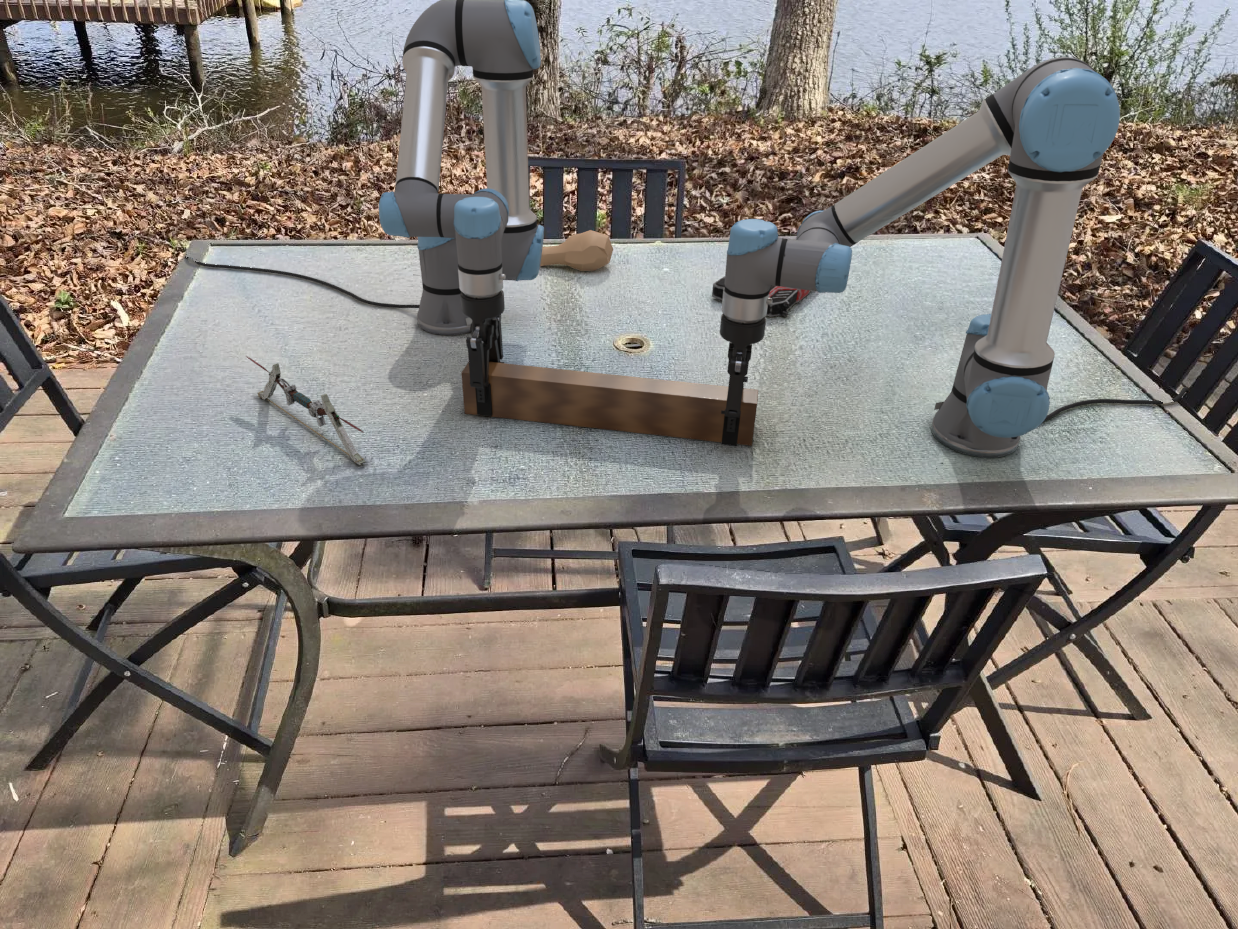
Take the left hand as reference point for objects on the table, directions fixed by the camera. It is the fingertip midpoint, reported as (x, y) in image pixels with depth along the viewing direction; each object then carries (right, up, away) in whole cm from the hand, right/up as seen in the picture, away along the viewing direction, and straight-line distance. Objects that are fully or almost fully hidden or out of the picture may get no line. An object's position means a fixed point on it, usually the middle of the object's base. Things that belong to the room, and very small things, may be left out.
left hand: (489, 406), depth 165 cm
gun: (+62, +32, +51) cm, 86 cm away
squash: (+13, +40, +62) cm, 75 cm away
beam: (+22, -3, -3) cm, 23 cm away
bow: (-31, -4, -7) cm, 33 cm away
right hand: (+45, -4, -6) cm, 45 cm away
